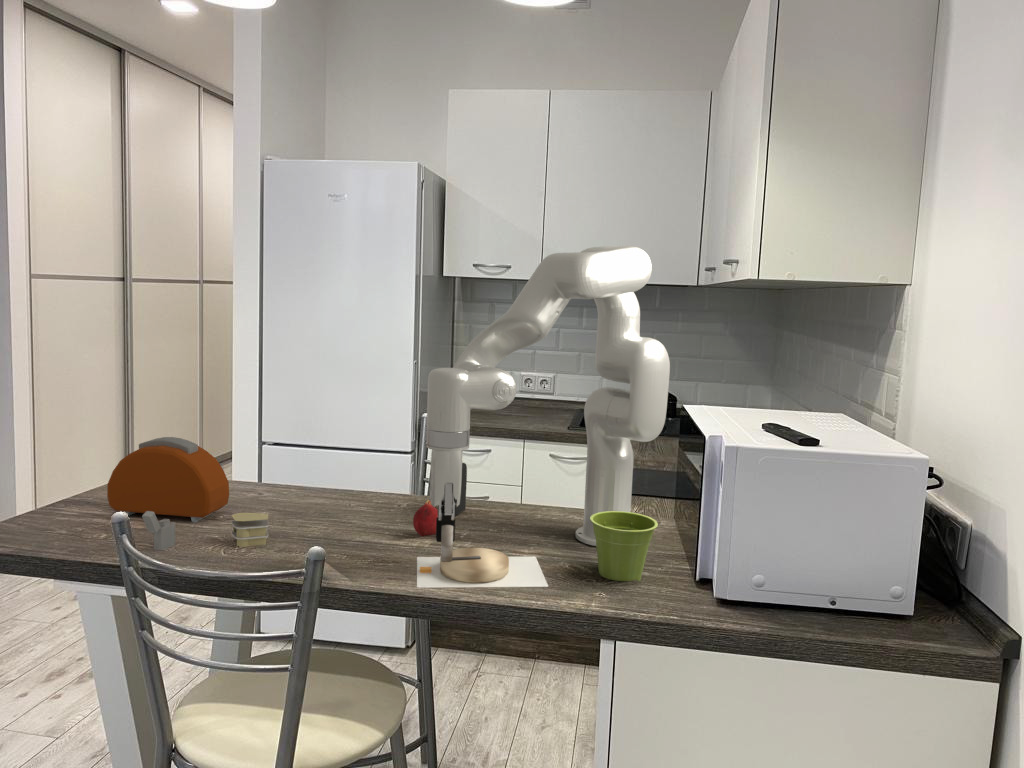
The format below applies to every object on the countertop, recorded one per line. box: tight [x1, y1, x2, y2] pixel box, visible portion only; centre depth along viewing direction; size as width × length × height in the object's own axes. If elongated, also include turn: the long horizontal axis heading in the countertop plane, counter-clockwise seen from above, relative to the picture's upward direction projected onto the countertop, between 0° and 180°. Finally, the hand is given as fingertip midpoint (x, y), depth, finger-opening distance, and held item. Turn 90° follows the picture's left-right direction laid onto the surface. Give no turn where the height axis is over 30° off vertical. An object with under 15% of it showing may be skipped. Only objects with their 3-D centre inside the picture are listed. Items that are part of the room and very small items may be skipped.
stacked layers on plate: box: [230, 512, 270, 548], centre depth 156 cm, size 10×9×6 cm
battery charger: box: [454, 461, 468, 517], centre depth 181 cm, size 7×4×11 cm, turn 161°
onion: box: [412, 499, 438, 538], centre depth 161 cm, size 6×6×8 cm
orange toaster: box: [106, 436, 230, 523], centre depth 171 cm, size 23×9×17 cm, turn 82°
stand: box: [416, 556, 549, 589], centre depth 141 cm, size 22×15×2 cm
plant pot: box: [590, 511, 659, 582], centre depth 142 cm, size 12×12×11 cm
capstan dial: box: [440, 525, 509, 582], centre depth 140 cm, size 12×12×8 cm
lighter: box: [141, 511, 177, 552], centre depth 150 cm, size 7×2×8 cm, turn 165°
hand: (445, 540), depth 142 cm, fingers closed
